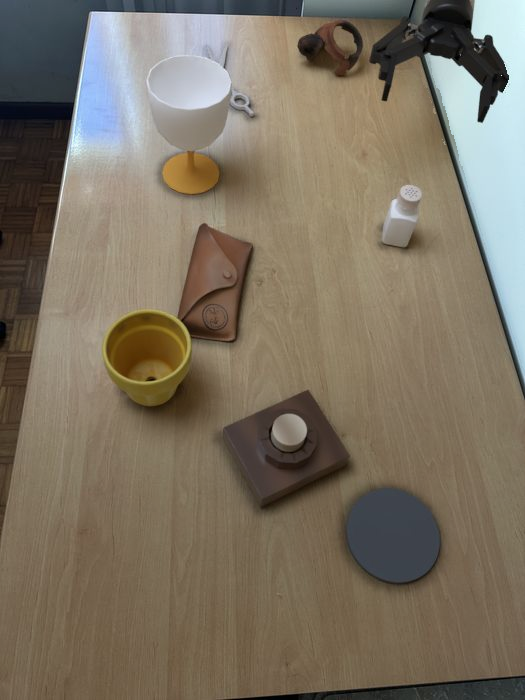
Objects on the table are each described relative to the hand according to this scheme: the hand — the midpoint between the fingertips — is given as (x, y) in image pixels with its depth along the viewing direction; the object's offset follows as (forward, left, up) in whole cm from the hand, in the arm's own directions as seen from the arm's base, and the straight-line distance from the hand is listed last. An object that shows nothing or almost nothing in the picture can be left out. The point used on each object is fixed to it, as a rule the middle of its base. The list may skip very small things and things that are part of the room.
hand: (434, 104), depth 91 cm
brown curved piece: (+16, -31, -18) cm, 39 cm away
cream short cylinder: (+13, +47, -13) cm, 50 cm away
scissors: (+34, -21, -18) cm, 44 cm away
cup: (+34, +3, -18) cm, 38 cm away
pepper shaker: (+1, +9, -18) cm, 20 cm away
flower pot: (+31, +41, -18) cm, 54 cm away
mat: (-1, +55, -18) cm, 58 cm away
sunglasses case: (+26, +24, -18) cm, 39 cm away
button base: (+13, +47, -18) cm, 52 cm away
